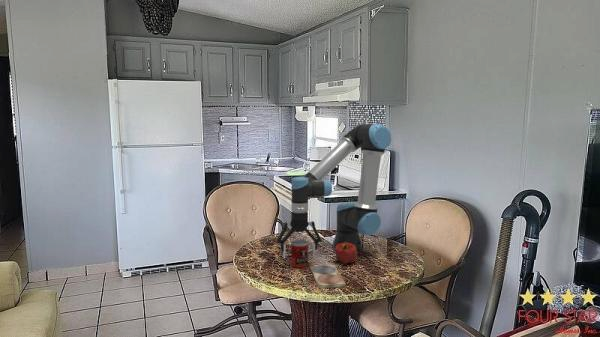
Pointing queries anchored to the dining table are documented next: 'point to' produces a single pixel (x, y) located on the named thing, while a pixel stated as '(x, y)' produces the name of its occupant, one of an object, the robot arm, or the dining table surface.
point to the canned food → (299, 253)
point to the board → (327, 276)
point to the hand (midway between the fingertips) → (298, 257)
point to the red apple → (346, 252)
